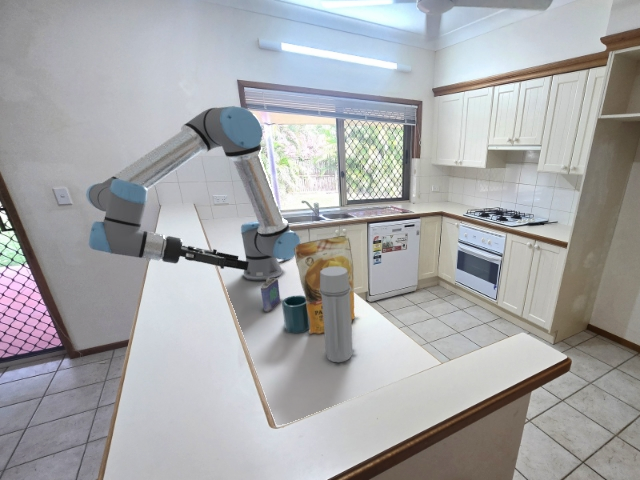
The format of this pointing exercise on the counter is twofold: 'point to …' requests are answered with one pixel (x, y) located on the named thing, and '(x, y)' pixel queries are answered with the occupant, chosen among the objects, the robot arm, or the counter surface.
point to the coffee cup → (295, 314)
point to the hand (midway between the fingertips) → (242, 262)
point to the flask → (270, 294)
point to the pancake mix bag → (310, 264)
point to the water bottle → (336, 313)
